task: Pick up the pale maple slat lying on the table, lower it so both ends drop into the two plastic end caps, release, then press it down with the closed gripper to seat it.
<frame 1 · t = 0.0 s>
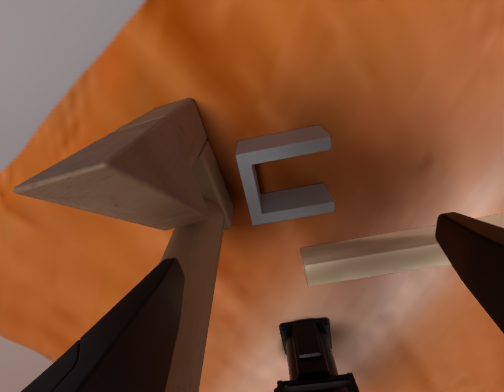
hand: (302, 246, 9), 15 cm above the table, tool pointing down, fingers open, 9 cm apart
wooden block: (197, 162, 23), on the table
slat: (402, 239, 28), on the table
endcap b: (288, 166, 23), on the table
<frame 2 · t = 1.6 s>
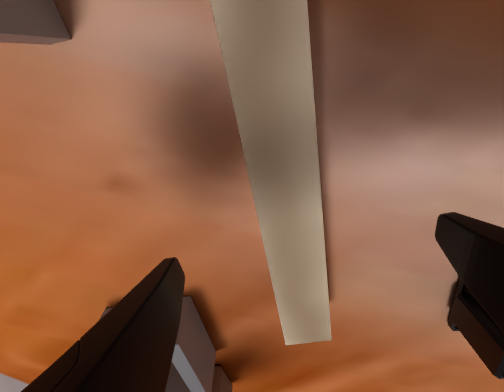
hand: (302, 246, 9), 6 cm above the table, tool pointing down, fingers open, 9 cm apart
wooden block: (173, 380, 24), on the table
slat: (280, 172, 14), on the table
endcap b: (162, 327, 20), on the table
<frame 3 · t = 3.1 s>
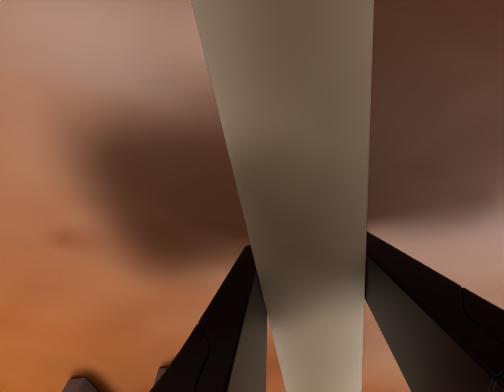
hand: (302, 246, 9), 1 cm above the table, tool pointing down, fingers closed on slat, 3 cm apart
slat: (296, 224, 10), on the table, touching gripper
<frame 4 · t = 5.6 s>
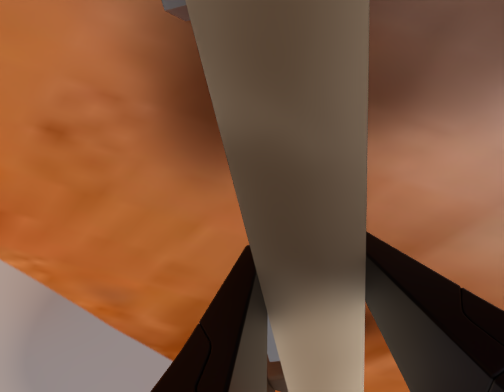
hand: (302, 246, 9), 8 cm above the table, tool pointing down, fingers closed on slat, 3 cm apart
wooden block: (286, 343, 25), on the table
slat: (296, 223, 10), point 7 cm above the table, touching gripper
endcap b: (297, 285, 21), on the table
when the fingers open (2 cm above the table, at t = 7.2 s): slat drops 1 cm, on the table.
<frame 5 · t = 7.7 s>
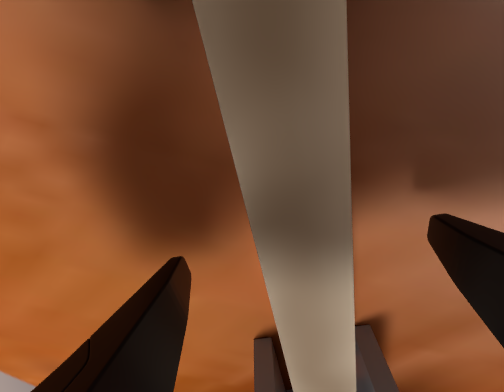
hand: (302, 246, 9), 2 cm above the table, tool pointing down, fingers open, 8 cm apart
slat: (292, 209, 11), on the table
endcap b: (314, 361, 16), on the table
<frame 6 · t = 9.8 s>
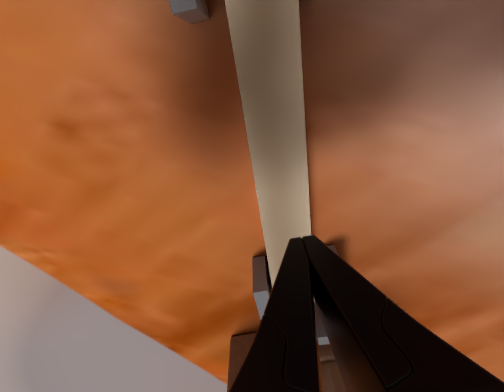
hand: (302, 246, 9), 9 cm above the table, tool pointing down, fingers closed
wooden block: (286, 334, 26), on the table
slat: (275, 154, 17), on the table
endcap b: (297, 277, 22), on the table
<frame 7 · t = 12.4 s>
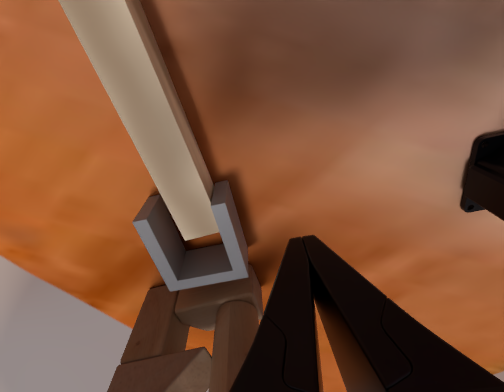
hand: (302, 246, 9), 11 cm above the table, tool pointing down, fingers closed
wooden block: (205, 286, 26), on the table
slat: (148, 78, 17), on the table
endcap b: (199, 219, 22), on the table
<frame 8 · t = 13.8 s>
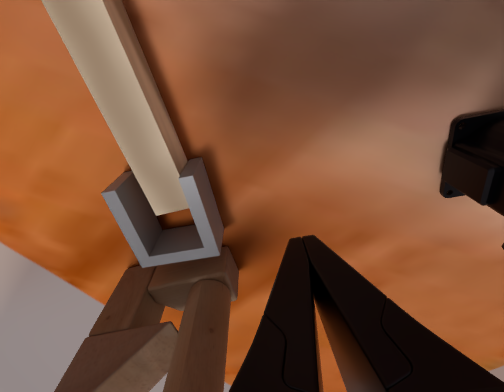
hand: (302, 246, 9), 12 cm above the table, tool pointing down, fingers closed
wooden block: (183, 267, 26), on the table
slat: (119, 48, 17), on the table
endcap b: (174, 197, 22), on the table
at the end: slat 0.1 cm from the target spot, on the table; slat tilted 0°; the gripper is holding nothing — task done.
